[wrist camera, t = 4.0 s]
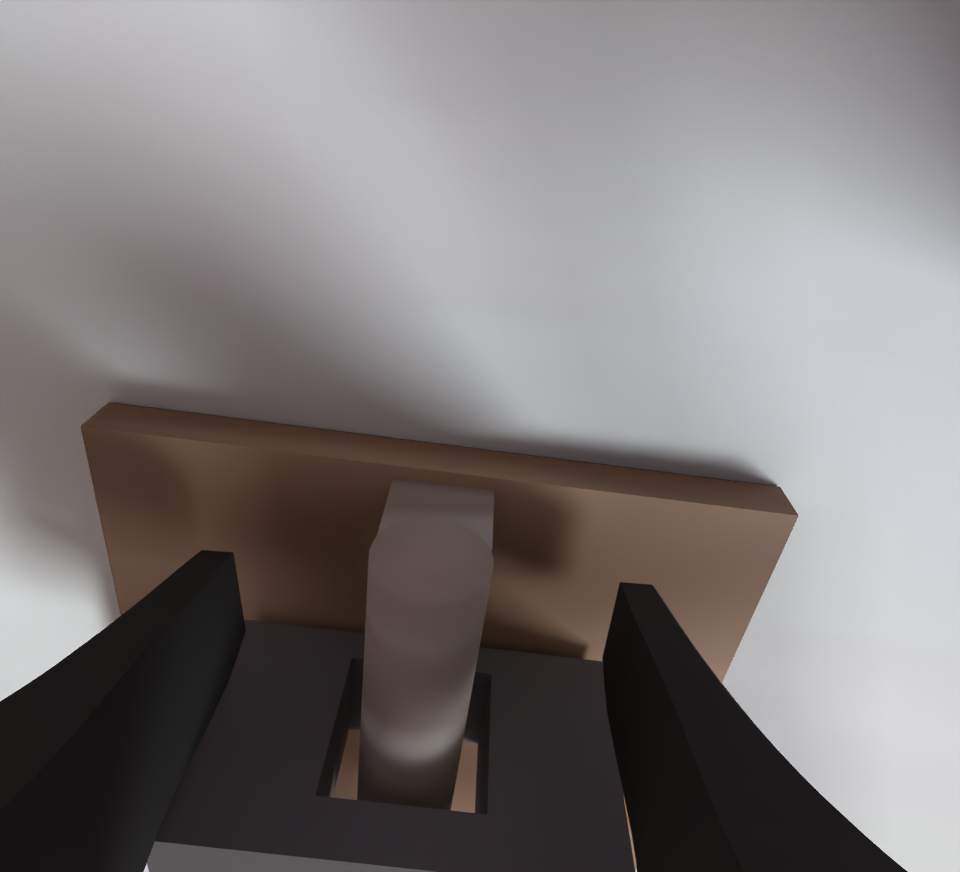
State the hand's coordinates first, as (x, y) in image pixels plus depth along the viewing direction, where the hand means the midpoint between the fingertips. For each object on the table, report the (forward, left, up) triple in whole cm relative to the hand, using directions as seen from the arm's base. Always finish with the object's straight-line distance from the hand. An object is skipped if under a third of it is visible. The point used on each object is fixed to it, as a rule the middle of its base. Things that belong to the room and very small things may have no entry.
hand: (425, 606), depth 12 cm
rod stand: (+6, 0, -2) cm, 6 cm away
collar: (+3, 0, -1) cm, 4 cm away
